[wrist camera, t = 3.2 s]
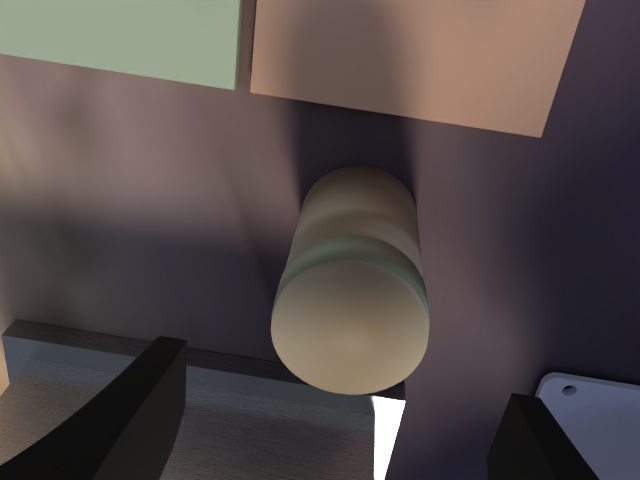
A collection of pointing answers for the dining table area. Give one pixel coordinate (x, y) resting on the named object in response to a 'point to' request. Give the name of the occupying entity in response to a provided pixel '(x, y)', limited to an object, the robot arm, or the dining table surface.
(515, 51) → the terracotta pad
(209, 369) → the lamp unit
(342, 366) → the fuse
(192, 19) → the sage pad
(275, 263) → the dining table surface
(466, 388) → the dining table surface
